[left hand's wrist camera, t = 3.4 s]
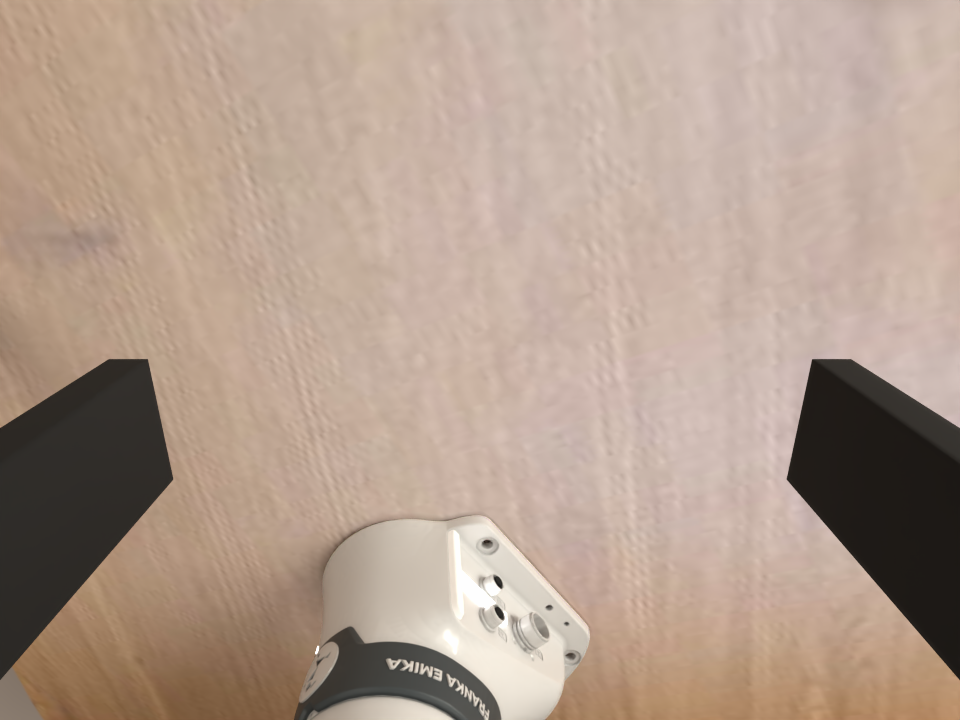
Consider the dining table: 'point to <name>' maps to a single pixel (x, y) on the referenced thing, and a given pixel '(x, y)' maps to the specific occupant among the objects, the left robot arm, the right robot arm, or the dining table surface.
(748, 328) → the dining table surface
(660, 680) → the dining table surface
